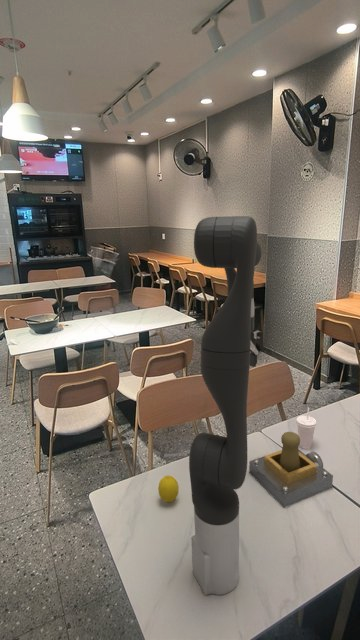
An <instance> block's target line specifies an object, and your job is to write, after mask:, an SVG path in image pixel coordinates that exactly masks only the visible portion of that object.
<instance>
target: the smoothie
mask: <svg viewBox="0 0 360 640" xmlns="http://www.w3.org/2000/svg"><path fill="white" fill-rule="evenodd" d="M296 425H297V435H298V436H299V437H300V445H299V446H298V447H299V448H301V449H302V450H303V449H304V450H309V449H311V448H312V443H313V438H314V434H315V430H316V429H315V428H316V426H317V420H316V419H315V418H314V417H312V416H310V407H307V413H306V415H299V416H297V417H296Z"/></svg>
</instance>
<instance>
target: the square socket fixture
mask: <svg viewBox="0 0 360 640" xmlns="http://www.w3.org/2000/svg"><path fill="white" fill-rule="evenodd" d="M298 451H299V461H300V469H297V470H295V471H292V472H289V473H288V472H287V471H286V470H285V469H283V468H282V467H281V466H280V465H279V463H280V458H281V453H282V449H281V450H278V451H276V452H272V453H269V454H267V455H264V456H261V457H257V458H255V459H252V460H249V466H248V467H249V470H248V471H249V472H248V473H249V474H250V475H251V476H252V477H253V478H254V479H255V480H256V482H258V483H259V484H260V485H261V486H262V487H263V488H264V489H265V490H266V491H267V492H268V493H269V494H270V495H271V496H272V497H273V498H274V499H275V500H276V501H277V502H278V503H279V504H280V505H281V506H282V507H283V509H284V508H285V509H286V508H287V507H290V506H292V505H294V504H296V503H298V502H301V501H303V500H305V499H308V498H311V497H313V496H316V495H318V494H321V493H323V492H324V491H325V492H326V491H327V490H330V489H333V481H334V475H333V474H332V473H330V471H328V470H326V469H325V468H324V462H323V460H322V458H321V455H320V454H319V453H317V452H315V451H311V452H309V453H306V454H305V453H304V452H302V451H301V450H300V449H299V448H298Z"/></svg>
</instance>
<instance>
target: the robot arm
mask: <svg viewBox="0 0 360 640" xmlns="http://www.w3.org/2000/svg"><path fill="white" fill-rule="evenodd" d="M194 229H195V230H194V236H193V251H194V256H195V258H196V260H197V262H198V264H200V265H201V266H203V267H206V268H211V269H217V268H218V269H224V271H225V275H226V281H227V284H226V285H227V297H226V298H225V300H224V302H223V304H222V305H221V307H220V308H219V309H218V311H217V312H216V314H215V315H214V316H213V318H212V319H211V321H210V322H209V323H208V325H207V327H206V329H204V332H203V333H202V337H201V340H200V341H201V342H200V343H201V345H200V346H201V347H200V372H201V376H202V379H203V382H204V384H205V385H206V387H207V389H208V391H209V394H210V395H211V397H212V398H213V401H215V404H216V406H217V407H218V410H219V411H220V414H221V416H222V419H223V422H224V426H225V431H226V433H225V434H226V436H222V435H219V434H215V433H214V434H213V433H208V432H200V433H198V434H197V435H196V436H195V437H194V439H192V443H191V446H190V449H189V450H190V451H189V455H188V456H189V458H188V466H189V467H188V469H189V470H188V471H189V481H190V488H191V491H190V492H191V502H192V505H193V511H194V516H193V518H194V534H193V535H192V536H191V538H190V540H191V559H192V560H191V561H192V562H191V564H192V574H193V575H194V577H195V579H196V581H197V582H198V585H199V586H200V588H201V591H202V592H203V594H204V596H207V595H210V594H211V595H217V596H218V595H219V596H222V595H225V594H229V593H230V592H232V591H233V590H234V589H235V588H236V587H237V585H238V583H239V579H240V498H239V495H238V493H237V491H235V490H239V489H240V488H241V487H242V486H243V484H244V482H245V479H246V476H247V472H248V471H247V469H248V419H247V418H248V417H247V415H248V414H247V413H248V412H247V411H248V409H247V407H248V390H249V388H248V387H249V379H250V367H252V368H256V367H257V364H258V355H259V353H260V352H264V349H265V347H264V332H263V331H260V330H258V329H255V301H254V298H255V297H254V296H255V295H254V294H255V292H254V290H255V286H254V285H255V283H254V276H255V270H256V269H255V268H256V267H257V265H258V264H259V263H260V261H261V258H262V248H261V246H260V243H259V242H258V229H257V223H256V221H255V219H254V217H252V216H248V215H247V216H246V215H245V216H244V215H243V216H242V215H239V216H238V215H236V216H235V215H234V216H233V215H231V216H209V217H205V218H202V219H201V220H199V222H198V223H197V224H196V226H195V228H194ZM253 339H254V343H253Z"/></svg>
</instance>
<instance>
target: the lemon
mask: <svg viewBox="0 0 360 640" xmlns="http://www.w3.org/2000/svg"><path fill="white" fill-rule="evenodd" d="M178 483H179V482H178V480H177V479H176V478H175V477H174V476H172V475H168V474H167V475H164V476H163V477H162V478H161V479H160V481H159V483H158V487H157V490H158V495H159V497H160V499H161V500H162V501H164V502H166V503H171V502H173V501H174V500H176V498H177V497H178V495H179V484H178Z"/></svg>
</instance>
